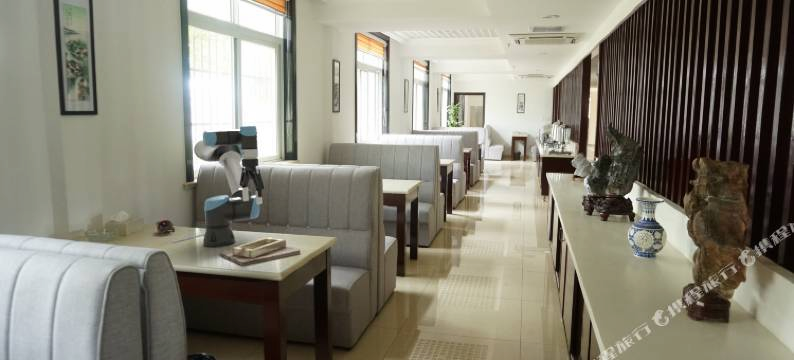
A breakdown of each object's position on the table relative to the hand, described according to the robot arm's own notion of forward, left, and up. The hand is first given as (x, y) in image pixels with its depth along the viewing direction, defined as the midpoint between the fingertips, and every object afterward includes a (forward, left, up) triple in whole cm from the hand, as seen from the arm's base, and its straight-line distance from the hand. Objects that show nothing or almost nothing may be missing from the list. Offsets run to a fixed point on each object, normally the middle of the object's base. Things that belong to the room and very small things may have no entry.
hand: (252, 202), depth 263 cm
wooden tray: (+15, -5, -20) cm, 25 cm away
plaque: (-43, -18, -22) cm, 52 cm away
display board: (+15, -5, -22) cm, 27 cm away
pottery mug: (-63, -22, -22) cm, 70 cm away
